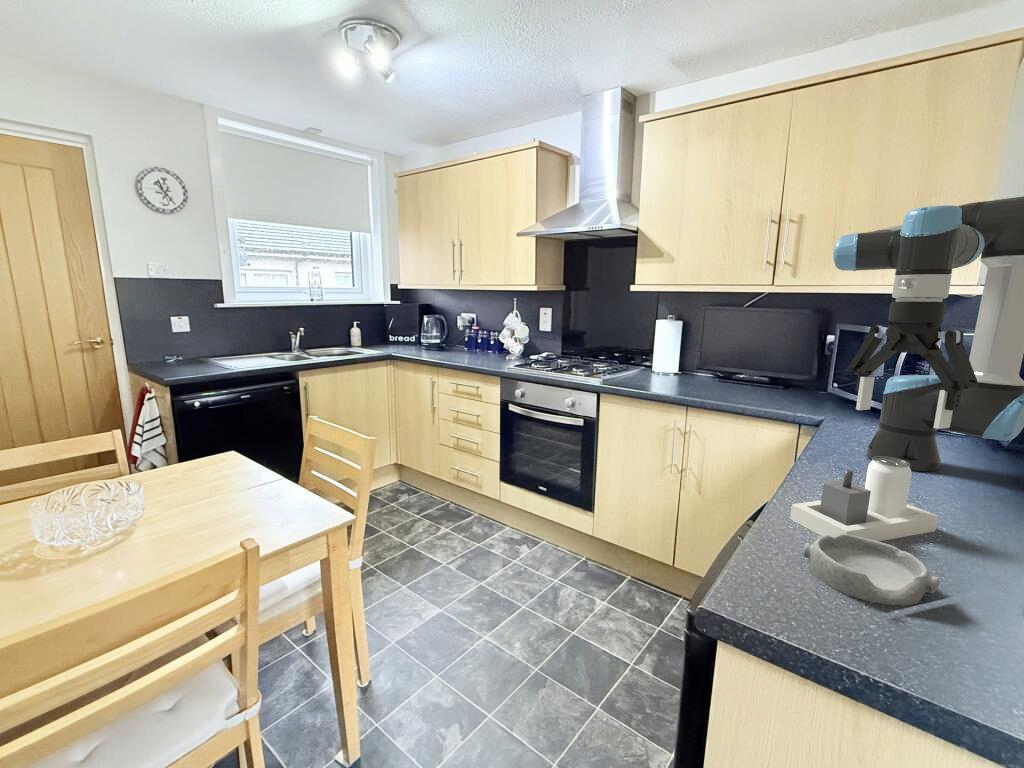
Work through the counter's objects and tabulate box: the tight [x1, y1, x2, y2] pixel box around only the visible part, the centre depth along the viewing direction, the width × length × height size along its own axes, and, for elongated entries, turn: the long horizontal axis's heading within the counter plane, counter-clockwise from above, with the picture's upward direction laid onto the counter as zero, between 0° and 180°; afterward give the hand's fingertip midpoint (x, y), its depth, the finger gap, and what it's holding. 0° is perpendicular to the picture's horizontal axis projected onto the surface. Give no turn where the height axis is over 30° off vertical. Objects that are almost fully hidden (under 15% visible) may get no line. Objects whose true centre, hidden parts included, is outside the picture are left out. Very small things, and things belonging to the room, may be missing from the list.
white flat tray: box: [789, 500, 939, 542], centre depth 89 cm, size 22×11×4 cm, turn 107°
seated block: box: [820, 469, 871, 526], centre depth 87 cm, size 5×5×11 cm
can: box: [864, 456, 913, 519], centre depth 89 cm, size 6×6×12 cm
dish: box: [802, 534, 940, 606], centre depth 72 cm, size 14×14×5 cm
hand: (899, 418), depth 87 cm, fingers open, 13 cm apart
